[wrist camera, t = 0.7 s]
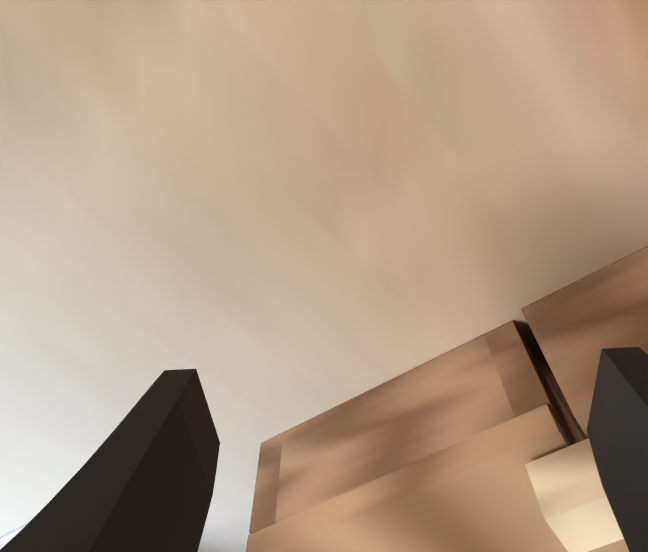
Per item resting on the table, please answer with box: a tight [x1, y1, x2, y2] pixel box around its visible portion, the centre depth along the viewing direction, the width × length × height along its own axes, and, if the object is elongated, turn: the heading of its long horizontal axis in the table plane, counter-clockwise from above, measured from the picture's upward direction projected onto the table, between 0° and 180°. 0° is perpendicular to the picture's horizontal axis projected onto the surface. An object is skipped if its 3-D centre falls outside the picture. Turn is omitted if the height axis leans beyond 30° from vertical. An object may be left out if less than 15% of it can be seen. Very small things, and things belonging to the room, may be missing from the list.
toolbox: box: [249, 321, 585, 534], centre depth 26 cm, size 12×12×4 cm
